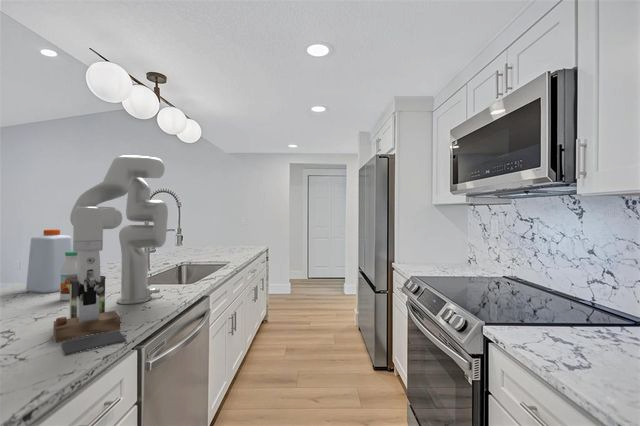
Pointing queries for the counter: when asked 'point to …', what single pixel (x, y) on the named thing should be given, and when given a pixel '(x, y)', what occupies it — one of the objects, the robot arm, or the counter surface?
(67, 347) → the rubber mat
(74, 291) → the coffee can
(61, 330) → the brown knobbed block
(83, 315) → the lever cap
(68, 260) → the milk bottle
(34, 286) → the plastic bottle
